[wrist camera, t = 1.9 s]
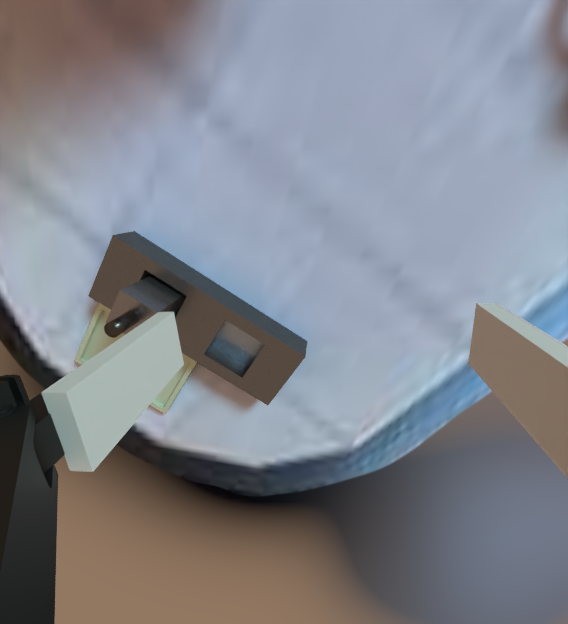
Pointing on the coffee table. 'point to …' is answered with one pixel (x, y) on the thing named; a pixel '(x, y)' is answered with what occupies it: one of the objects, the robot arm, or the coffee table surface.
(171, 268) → the panel
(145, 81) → the coffee table surface
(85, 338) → the tray
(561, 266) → the coffee table surface
